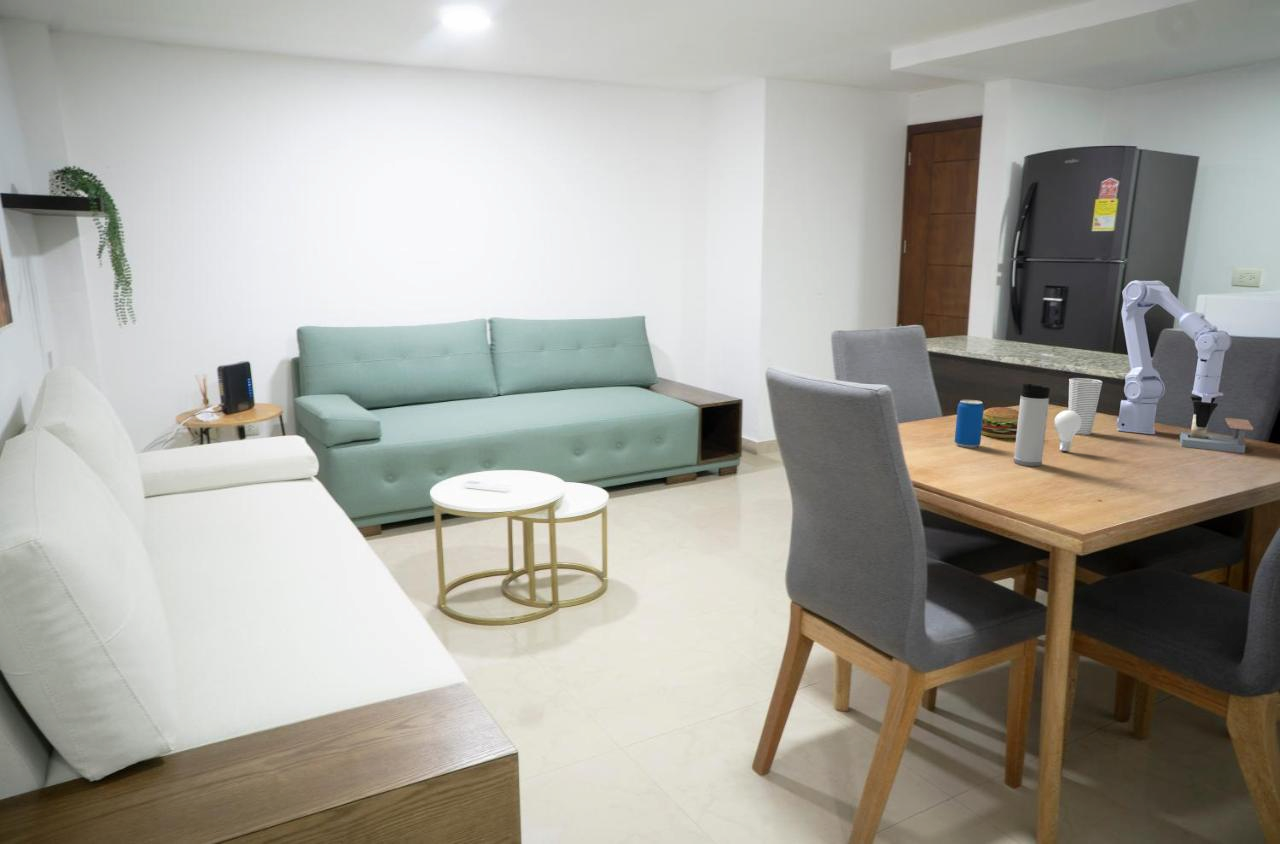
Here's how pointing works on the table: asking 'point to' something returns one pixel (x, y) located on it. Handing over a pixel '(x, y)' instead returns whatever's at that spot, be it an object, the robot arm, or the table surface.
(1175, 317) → the robot arm
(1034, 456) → the travel mug
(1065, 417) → the lightbulb
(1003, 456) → the table surface
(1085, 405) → the cup
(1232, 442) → the socket station
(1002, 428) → the food
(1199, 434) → the peg
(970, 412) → the beverage can
